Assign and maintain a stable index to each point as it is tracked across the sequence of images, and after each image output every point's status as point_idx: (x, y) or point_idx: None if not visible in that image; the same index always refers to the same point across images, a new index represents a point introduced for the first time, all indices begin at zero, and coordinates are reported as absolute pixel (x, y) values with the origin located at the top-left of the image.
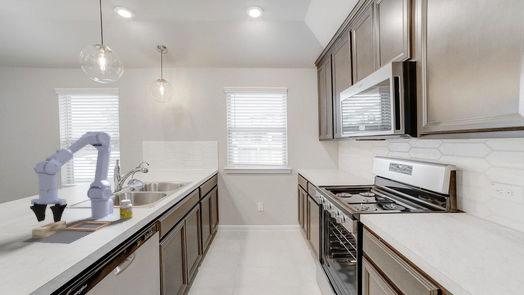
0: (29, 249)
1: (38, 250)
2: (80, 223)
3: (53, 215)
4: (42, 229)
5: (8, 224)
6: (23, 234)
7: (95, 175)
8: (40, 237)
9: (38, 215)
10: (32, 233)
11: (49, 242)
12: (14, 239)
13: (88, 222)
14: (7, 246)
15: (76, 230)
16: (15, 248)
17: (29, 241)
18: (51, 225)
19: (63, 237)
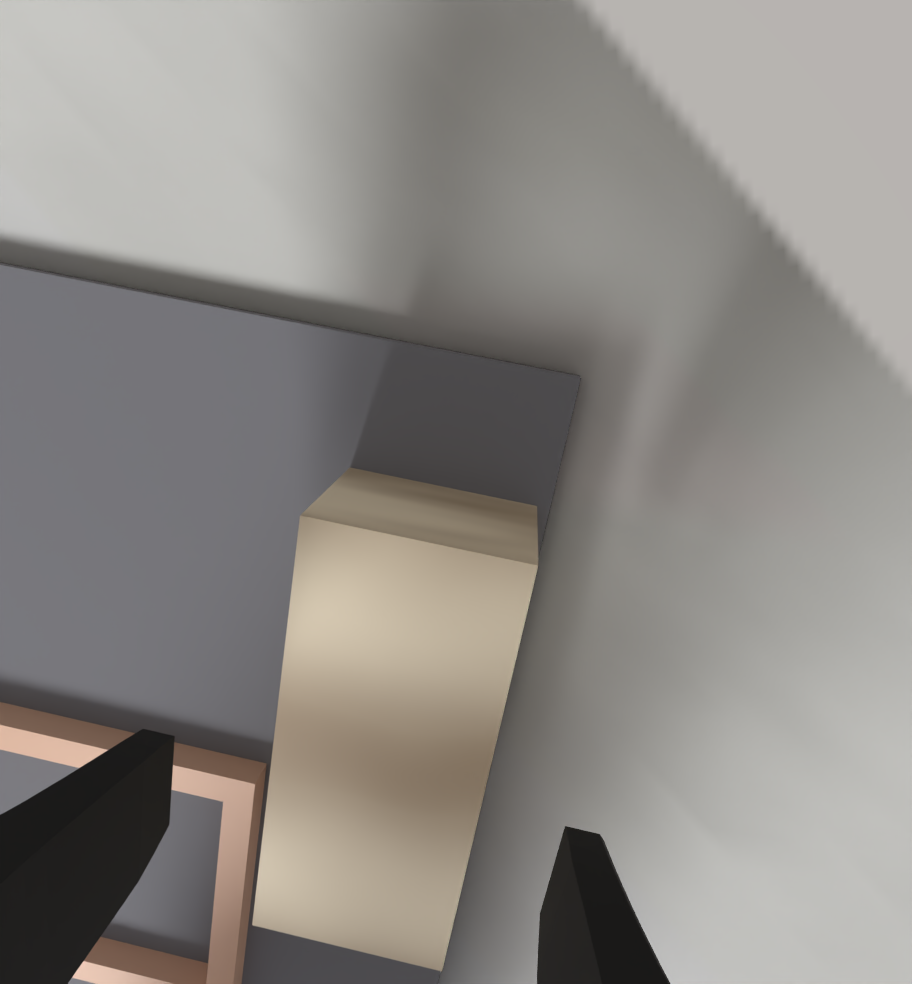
0: (217, 77)
1: (27, 23)
2: (210, 951)
3: (27, 841)
4: (311, 544)
5: None
6: (885, 736)
7: None
8: (373, 477)
9: (588, 977)
10: (530, 534)
11: (79, 289)
12: (868, 543)
13: (122, 967)
14: (734, 244)
15: (81, 721)
16: (505, 140)
17: (464, 368)
18: (328, 744)
19: (37, 473)
